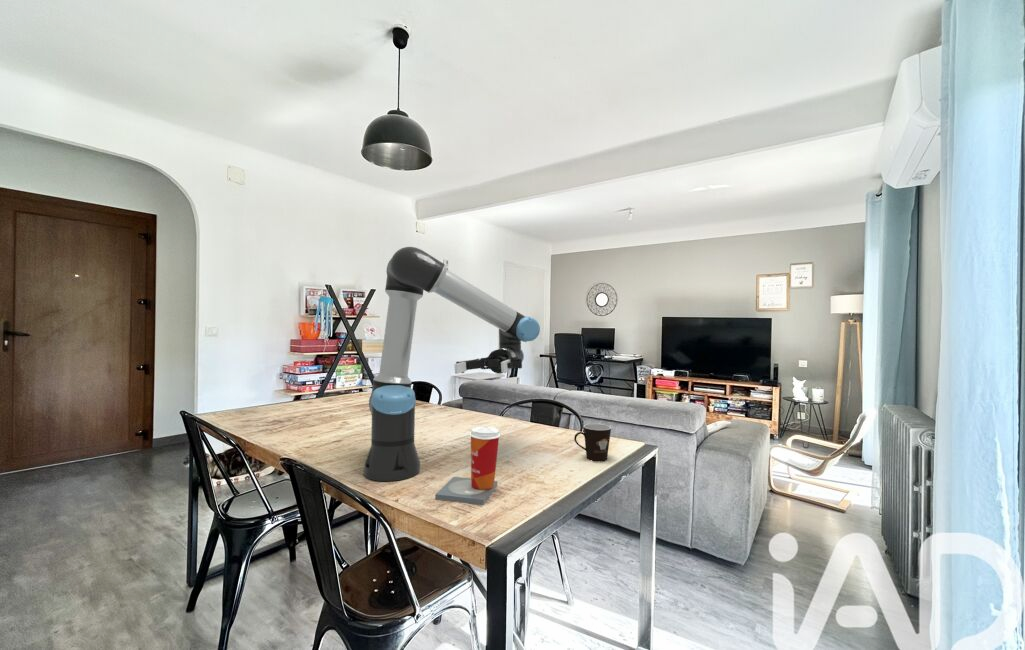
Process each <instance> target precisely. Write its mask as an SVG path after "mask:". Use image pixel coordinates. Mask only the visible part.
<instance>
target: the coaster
mask: <svg viewBox="0 0 1025 650" xmlns="http://www.w3.org/2000/svg"><path fill="white" fill-rule="evenodd" d="M497 486H498V480H494V486H493V488H491V489H488V490H478V489H475V488H473V487H472V484H471V477H462V476H453V477H451V479H449V480H448V481H447V483H445V485H443V486H442V487H441V488H440V489H439V490H438V491H437V492H436V493H435V494H434V496H435V497H434V499H435V500H438V501H447V502H456V503H463V504H472V505H480V506H481V505H482V506H484V505H485V504H486V502H487V501H488V499H489V498H490V497H491V495H492V493H494V492H495V489H496V488H497Z"/></svg>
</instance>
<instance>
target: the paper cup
mask: <svg viewBox="0 0 1025 650" xmlns="http://www.w3.org/2000/svg"><path fill="white" fill-rule="evenodd" d="M469 437H470V472H471V473H470V476H471V477H470V478H471V484H472V487H473V488H475V489H478V490H488V489H491V488H493V486H494V481H495V477H496V469H497V457H498V449H499V441H500V440H499V439H500V437H501V434H500V431H499V429H498V428H496V427H491V426H478V427H474V428H472V429H471V432H470V433H469Z"/></svg>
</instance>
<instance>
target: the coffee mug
mask: <svg viewBox="0 0 1025 650" xmlns="http://www.w3.org/2000/svg"><path fill="white" fill-rule="evenodd" d="M611 433H612V427H611V426H610V425H606V424H602V423H587V424H586V423H585V424H584V425H583V432H582V431H579V432H576V434H574V440H573V441H574V442H575V444H576V445H577V446H578V447H580V448H581V449H583V450H584V451H585V455H586V456H585V457H586V459H587V460H588V461H590V460H592V461H591V462H595V461H603V462H606V461H607V460H608V455H609V454H608V453H609V447H610V439H611ZM579 435H583V436H584V446H585V447H584V446H582V445H581V444H580V443H579V442H578V440H577V438H578V436H579ZM605 460H606V461H605Z"/></svg>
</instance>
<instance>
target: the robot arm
mask: <svg viewBox="0 0 1025 650" xmlns="http://www.w3.org/2000/svg"><path fill="white" fill-rule="evenodd" d="M385 271H386V281H385V290H384V292H385V294H387V296H388V306H387V312H386V313H387V314H386V320H385V328H384V336H383V345H382V351H381V358H380V359H381V360H380V366H379V373H378V374H377V375H376V376H374V377H373V381H372V388H371V394H370V397H369V401H368V407H369V411H370V415H371V434H370V435H371V439H370V441H371V444H370V448H369V450H368V454H367V456H366V459H365V462H364V466H363V475H364V477H365V478H366V479H368V480H371V481H377V482H392V481H394V482H395V481H402V480H405V479H410V478H412V477H414V476H416V475H418V474H419V472H420V471H421V460H420V457H419V453H418V450H417V448H416V444H415V428H416V427H415V423H416V421H415V417H416V416H415V413H416V412H415V411H416V401H417V400H416V393H415V390H414V389H413V388H412V380H411V379H410V378H409V376H408V375H409V367H410V360H411V351H412V344H413V337H414V329H415V328H414V327H415V321H416V314H417V313H416V312H417V307H418V301H419V300H420V299H421V298H423V296H424V291H425V292H427V293H428V294H429V293H436V294H437V295H439V296H441V297H442V298H444V299H446V300H447V301H450V302H451V303H453V304H455V305H457V306H458V307H460V308H462V309H464V310H466V311H467V312H469V313H470V314H472V315H474V316H476V317H478V318H480V319H482V320H483V321H485V322H486V323H488V324H490V325H492V326H494V327H496V328H497V329H498V341H499V344H498V345H499V348H498V349H495V350H492V351H491V352H490V353H489V355H488V356H487V357H481V358H476V359H474V358H473V359H470V360H469V359H468V360H461V361H456V362H455V363H454V375H455V374H456V375H458V374H465V372H467V371H469V370H477V369H478V370H479V369H480V370H491V371H492V372H493V373H495V374H503V373H507V372H508V371H509V370H515V369H519V370H520V369H522V368H523V361H524V358H525V355H524V352H523V350H522V343H523V342H525V343H527V342H532V341H534V340H536V339H537V338H538V336H539V335H540V332H541V326H540V324H539V321H538V320H537V319H535V318H534V317H530V316H526V315H524V314H522V313H520V312H518V311H517V310H515V309H514V308H512V307H510V306H508V305H507V304H505V303H504V302H502V301H500V300H499V299H497V298H495V297H493V296H492V295H491V294H489V293H487V292H485V291H483V290H482V289H480V288H479V287H477V286H475V285H473V284H471V283H470V282H469V281H467V280H465V279H463V278H461V277H460V276H458V275H456V274H455V273H453V272H451V271H449V270H448V269H447V266H446V264H445V263H443V262H442V261H440V260H439V259H437V258H436V257H435V256H432V255H430V254H429V253H427V252H425V250H422V248H418V247H415V246H406V247H402V248H399V249H398V250H397V251H395V252H394V254H393V255H392V257H391V258H390V260H389V261H388V263H387V266H386V270H385Z"/></svg>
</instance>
